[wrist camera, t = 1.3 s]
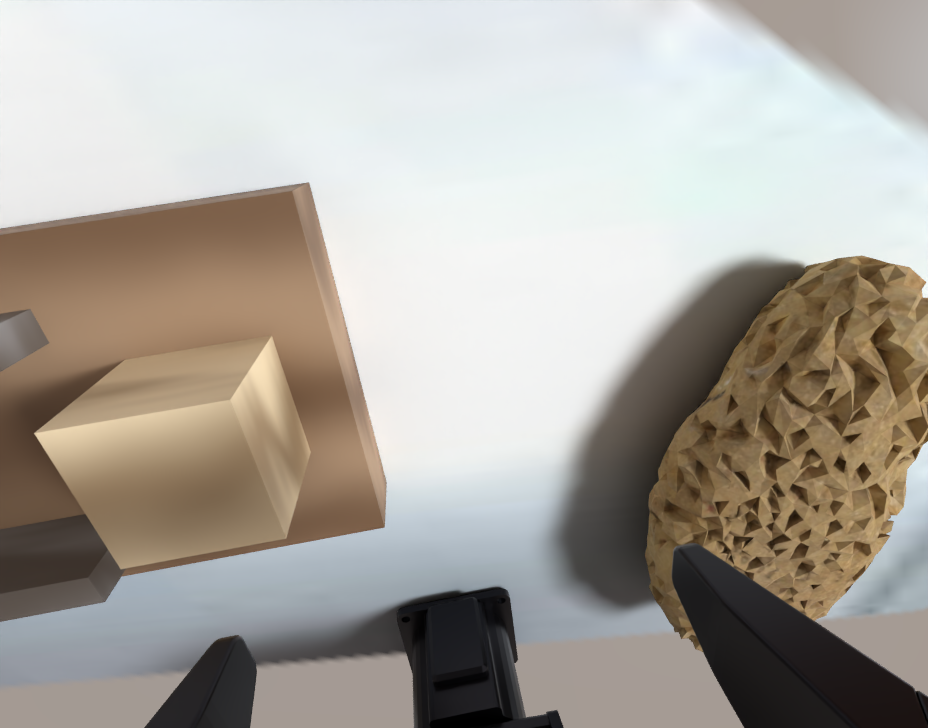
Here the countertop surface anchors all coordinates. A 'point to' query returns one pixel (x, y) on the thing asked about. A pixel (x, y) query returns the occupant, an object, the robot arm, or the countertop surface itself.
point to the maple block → (184, 452)
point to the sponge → (801, 440)
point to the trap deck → (157, 332)
